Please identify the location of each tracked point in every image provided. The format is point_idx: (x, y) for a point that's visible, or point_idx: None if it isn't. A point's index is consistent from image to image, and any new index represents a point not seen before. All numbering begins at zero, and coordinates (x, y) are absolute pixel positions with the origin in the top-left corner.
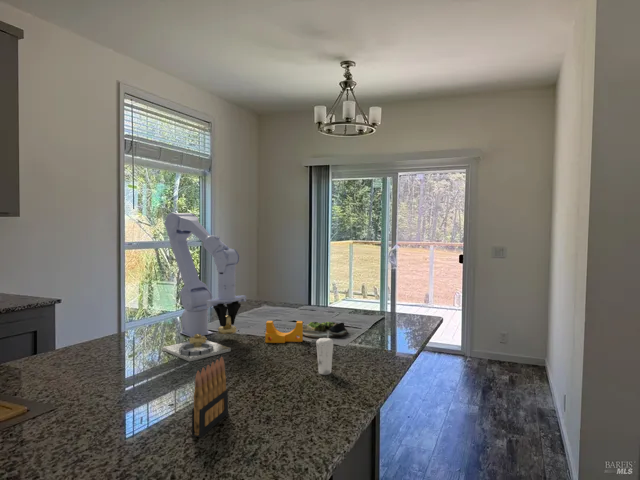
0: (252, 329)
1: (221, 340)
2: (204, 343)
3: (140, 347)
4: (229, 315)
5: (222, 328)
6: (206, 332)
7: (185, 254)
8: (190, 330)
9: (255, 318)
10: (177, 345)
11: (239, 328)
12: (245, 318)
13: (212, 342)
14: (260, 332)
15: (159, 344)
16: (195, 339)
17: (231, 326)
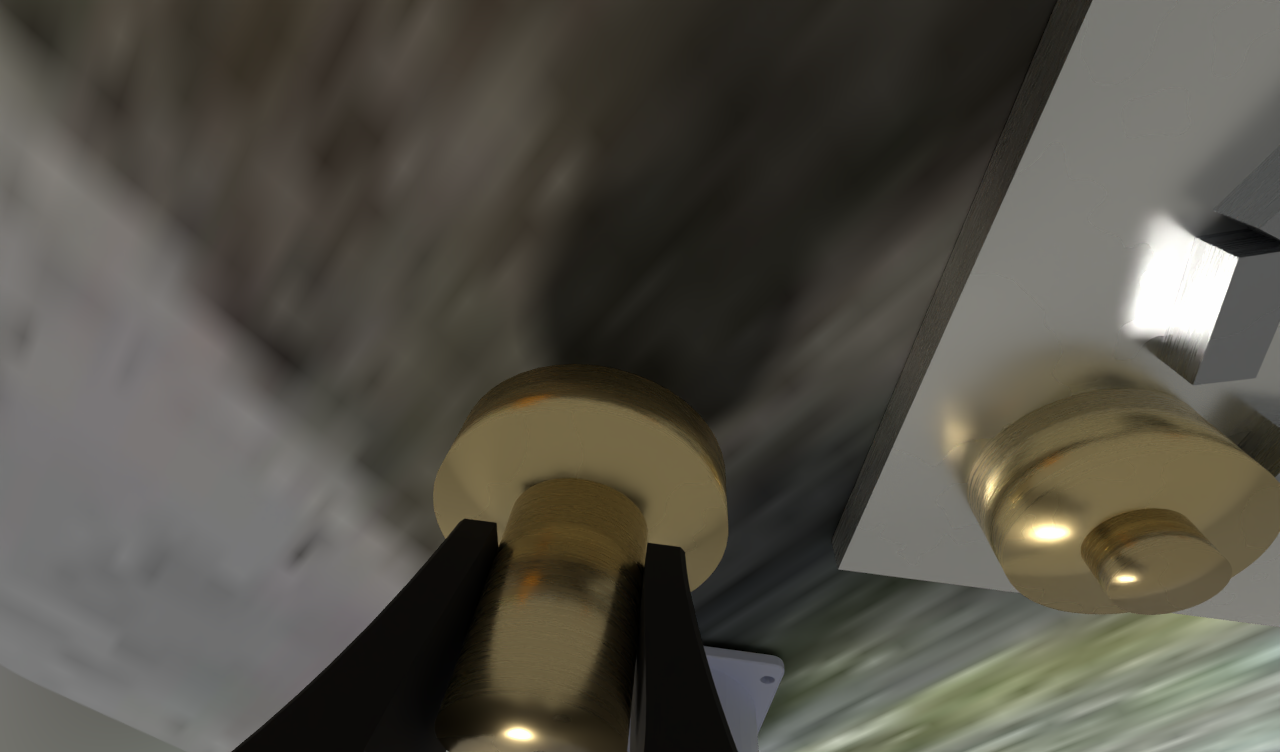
0: (150, 484)
1: None
2: (1260, 336)
3: (1229, 745)
4: (461, 737)
5: None
6: None
7: None
8: (758, 749)
9: (19, 665)
10: (1230, 580)
11: (264, 584)
12: (105, 704)
13: (938, 385)
14: (93, 337)
15: (1088, 710)
16: (1267, 501)
17: None
